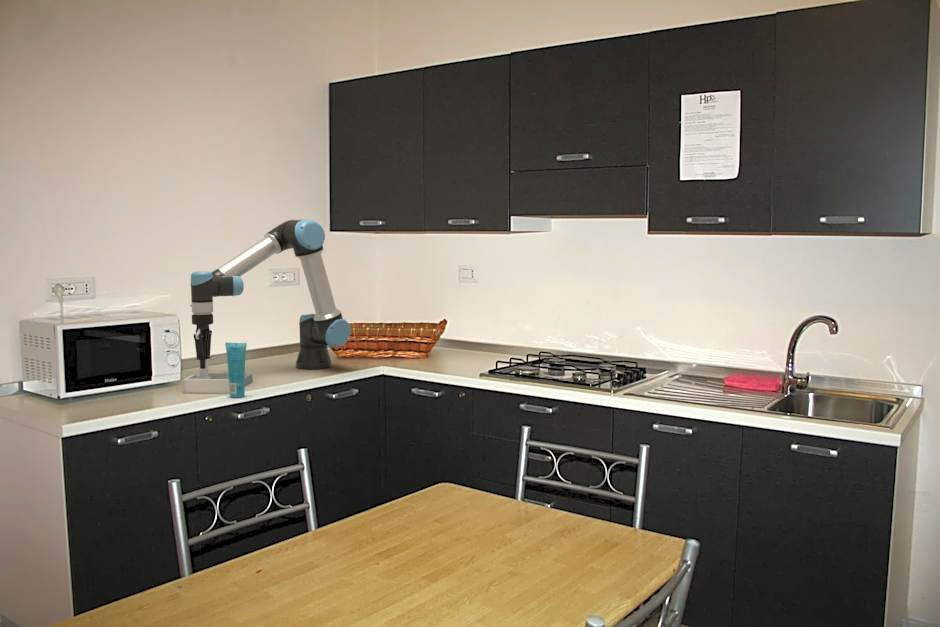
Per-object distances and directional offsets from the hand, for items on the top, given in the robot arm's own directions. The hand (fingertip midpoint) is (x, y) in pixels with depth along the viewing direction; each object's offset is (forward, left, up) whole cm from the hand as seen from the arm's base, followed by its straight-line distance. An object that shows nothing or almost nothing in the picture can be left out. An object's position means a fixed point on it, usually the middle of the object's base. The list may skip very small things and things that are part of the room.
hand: (204, 376), depth 301 cm
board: (-5, -7, -4) cm, 10 cm away
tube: (-17, +15, -4) cm, 23 cm away
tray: (-5, +5, -4) cm, 8 cm away
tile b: (0, +3, -3) cm, 4 cm away
